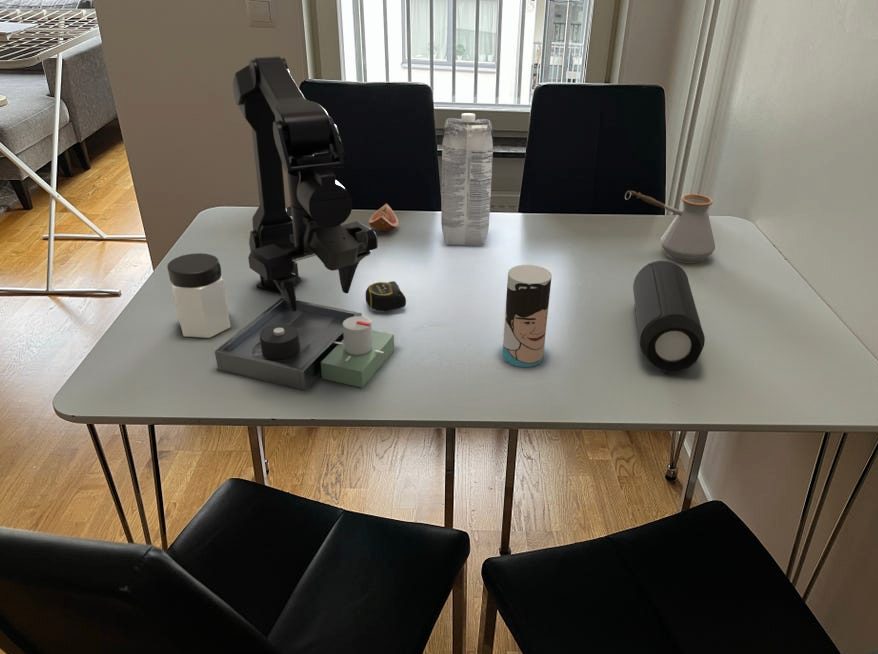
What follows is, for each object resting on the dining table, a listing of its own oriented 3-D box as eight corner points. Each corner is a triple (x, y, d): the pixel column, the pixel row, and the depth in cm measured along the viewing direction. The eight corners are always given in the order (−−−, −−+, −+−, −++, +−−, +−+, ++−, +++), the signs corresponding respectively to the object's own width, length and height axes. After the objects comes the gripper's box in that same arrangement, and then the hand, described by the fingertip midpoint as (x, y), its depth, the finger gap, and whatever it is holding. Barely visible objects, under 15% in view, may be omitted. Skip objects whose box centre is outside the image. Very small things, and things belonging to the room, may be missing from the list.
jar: (234, 333, 120) (223, 269, 114) (184, 343, 117) (170, 278, 111) (225, 310, 127) (214, 248, 121) (177, 319, 124) (163, 256, 117)
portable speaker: (699, 380, 112) (713, 325, 107) (636, 373, 113) (646, 319, 108) (681, 306, 133) (691, 257, 128) (628, 301, 134) (636, 253, 129)
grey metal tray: (217, 370, 111) (214, 351, 109) (284, 314, 126) (281, 297, 125) (305, 390, 107) (303, 371, 105) (362, 330, 122) (361, 312, 120)
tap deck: (317, 377, 110) (315, 360, 108) (352, 340, 119) (351, 324, 118) (367, 389, 107) (366, 371, 106) (399, 350, 117) (398, 334, 115)
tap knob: (339, 351, 111) (337, 325, 108) (352, 338, 114) (350, 312, 112) (365, 357, 109) (363, 330, 107) (377, 343, 113) (375, 317, 110)
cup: (508, 369, 113) (515, 285, 105) (497, 347, 119) (503, 266, 111) (548, 364, 115) (557, 281, 107) (535, 343, 120) (543, 263, 112)
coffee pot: (699, 244, 159) (713, 179, 151) (721, 266, 149) (738, 198, 141) (608, 247, 156) (617, 181, 148) (624, 269, 147) (636, 199, 139)
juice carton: (488, 248, 154) (494, 122, 140) (440, 246, 154) (441, 120, 140) (487, 232, 162) (493, 111, 147) (442, 231, 162) (443, 109, 147)
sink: (225, 368, 111) (223, 357, 110) (285, 317, 126) (284, 307, 125) (303, 386, 107) (302, 375, 106) (356, 331, 122) (355, 321, 121)
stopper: (255, 363, 112) (251, 335, 109) (276, 345, 117) (272, 317, 114) (288, 371, 110) (285, 342, 107) (308, 352, 115) (305, 324, 112)
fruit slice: (395, 238, 158) (394, 216, 155) (365, 236, 158) (364, 215, 155) (400, 224, 165) (400, 203, 162) (372, 222, 165) (371, 202, 162)
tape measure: (407, 312, 128) (407, 294, 126) (370, 317, 126) (369, 298, 124) (398, 296, 134) (398, 278, 132) (362, 300, 132) (361, 282, 130)
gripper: (281, 235, 89) (293, 341, 97) (398, 204, 100) (401, 302, 108) (239, 211, 96) (254, 312, 104) (353, 184, 106) (359, 277, 115)
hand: (320, 301), depth 107 cm, fingers open, 9 cm apart
